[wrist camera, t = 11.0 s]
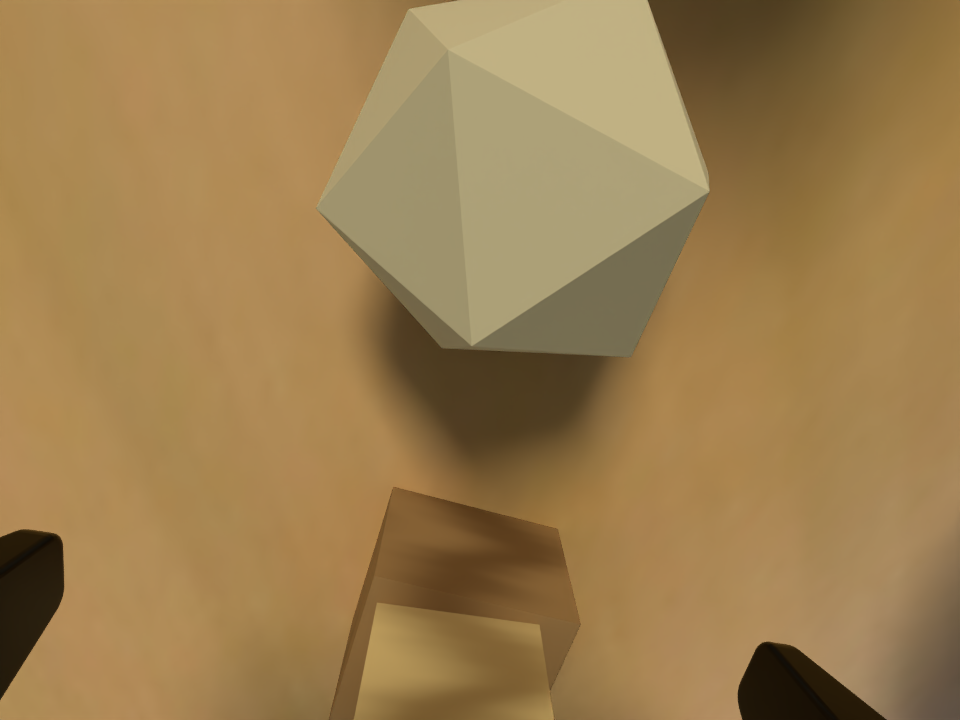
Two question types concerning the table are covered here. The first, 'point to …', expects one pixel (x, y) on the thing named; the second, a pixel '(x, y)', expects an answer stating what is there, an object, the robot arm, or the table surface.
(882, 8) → the table surface
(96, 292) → the table surface
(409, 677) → the oak block
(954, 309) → the table surface
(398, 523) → the walnut block
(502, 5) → the beige icosahedron
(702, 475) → the table surface
